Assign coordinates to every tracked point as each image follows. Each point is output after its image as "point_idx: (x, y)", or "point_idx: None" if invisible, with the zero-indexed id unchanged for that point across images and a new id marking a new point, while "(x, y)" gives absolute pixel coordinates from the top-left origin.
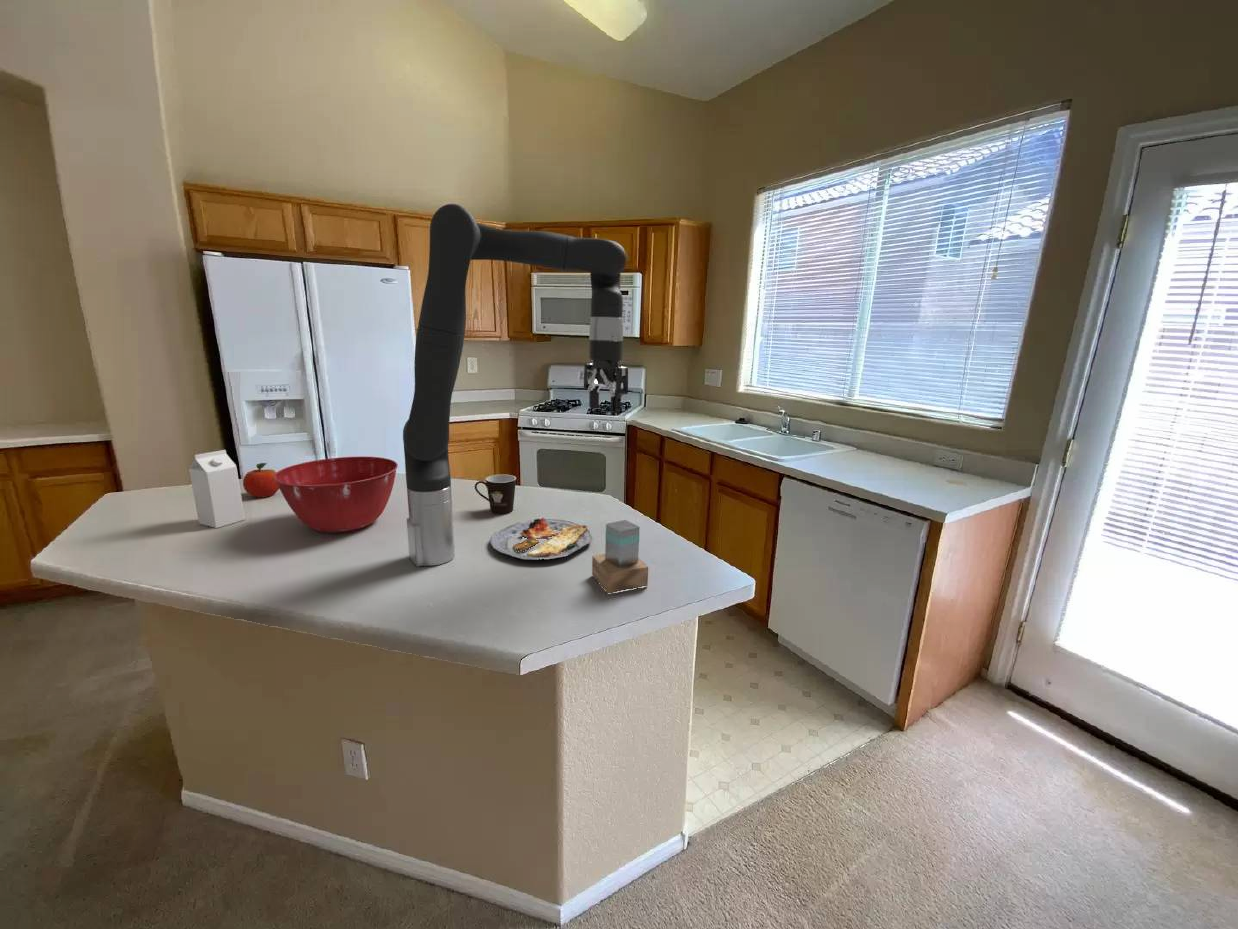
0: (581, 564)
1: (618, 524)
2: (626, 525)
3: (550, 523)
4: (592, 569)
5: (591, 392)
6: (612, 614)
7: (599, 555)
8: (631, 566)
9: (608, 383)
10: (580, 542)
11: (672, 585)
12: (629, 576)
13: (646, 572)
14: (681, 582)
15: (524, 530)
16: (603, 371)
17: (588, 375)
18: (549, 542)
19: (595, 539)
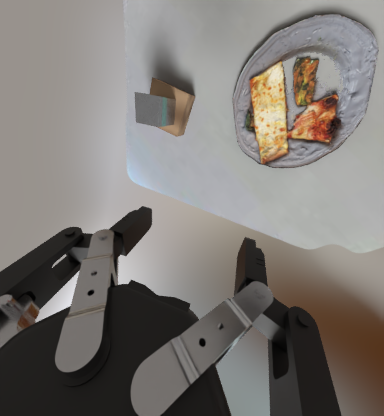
0: (219, 106)
1: (151, 108)
2: (144, 113)
3: (317, 149)
4: (192, 95)
5: (252, 284)
6: (137, 58)
7: (185, 101)
8: None
9: (83, 263)
10: (250, 139)
11: (147, 138)
12: None
13: None
14: (147, 147)
15: (332, 99)
16: (60, 342)
17: (292, 399)
18: (279, 109)
19: (248, 161)
